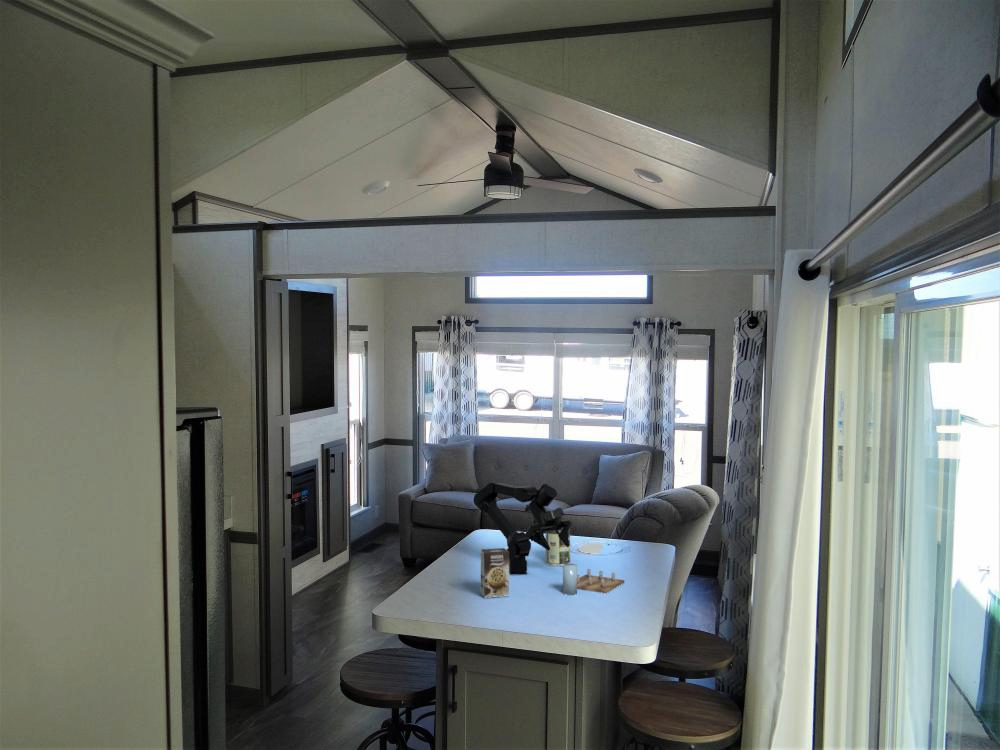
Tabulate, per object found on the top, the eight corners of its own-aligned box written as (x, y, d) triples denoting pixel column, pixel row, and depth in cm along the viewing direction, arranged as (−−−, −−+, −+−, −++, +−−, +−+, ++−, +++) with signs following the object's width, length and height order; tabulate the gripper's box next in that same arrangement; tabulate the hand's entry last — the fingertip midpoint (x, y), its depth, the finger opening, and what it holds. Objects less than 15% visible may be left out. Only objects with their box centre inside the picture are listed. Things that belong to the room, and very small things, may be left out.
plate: (557, 546, 360) (557, 544, 360) (612, 540, 370) (612, 539, 370) (585, 559, 334) (585, 558, 334) (643, 553, 344) (643, 552, 344)
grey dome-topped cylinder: (565, 595, 281) (565, 567, 281) (561, 591, 286) (561, 564, 286) (579, 594, 283) (578, 566, 282) (574, 590, 287) (574, 563, 287)
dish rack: (566, 586, 292) (566, 576, 292) (585, 577, 306) (585, 566, 306) (606, 593, 284) (606, 582, 284) (624, 582, 297) (624, 572, 297)
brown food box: (484, 599, 278) (484, 552, 278) (480, 594, 284) (479, 548, 284) (509, 596, 281) (509, 551, 280) (504, 591, 287) (504, 547, 287)
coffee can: (569, 560, 333) (569, 526, 333) (571, 566, 323) (571, 531, 323) (544, 560, 333) (544, 526, 333) (545, 566, 323) (545, 531, 323)
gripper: (529, 503, 293) (548, 538, 284) (568, 498, 304) (588, 532, 295) (517, 521, 300) (535, 556, 291) (555, 516, 310) (574, 549, 302)
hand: (559, 548), depth 294 cm, fingers open, 9 cm apart
